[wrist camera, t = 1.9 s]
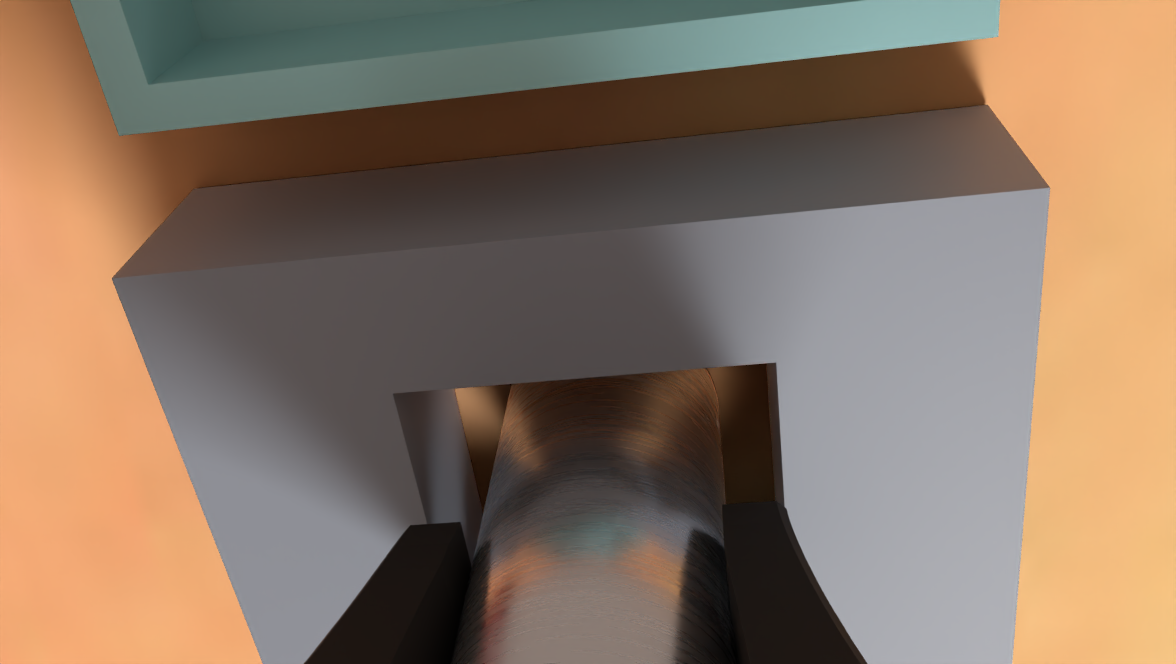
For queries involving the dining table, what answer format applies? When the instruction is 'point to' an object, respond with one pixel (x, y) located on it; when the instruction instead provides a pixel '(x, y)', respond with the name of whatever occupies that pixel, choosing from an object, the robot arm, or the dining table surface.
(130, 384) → the dining table surface
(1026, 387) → the socket block
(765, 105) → the dining table surface
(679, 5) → the tray
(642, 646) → the pin
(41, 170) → the dining table surface
